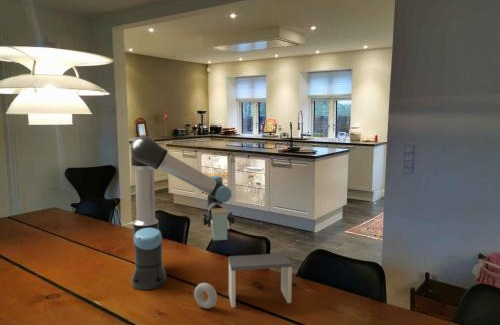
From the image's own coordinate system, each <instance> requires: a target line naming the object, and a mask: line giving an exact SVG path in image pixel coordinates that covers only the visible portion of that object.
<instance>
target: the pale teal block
mask: <svg viewBox="0 0 500 325" xmlns="http://www.w3.org/2000/svg"><path fill="white" fill-rule="evenodd" d="M211 212H212V221H213V230H211V231H212V233H211V234H212V235H211V236H212V237H211V238H212V241H226V240H228V229H227V214H228V210H227V208H226V207H223V208H215V209H211Z"/></svg>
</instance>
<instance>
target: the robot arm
mask: <svg viewBox="0 0 500 325" xmlns="http://www.w3.org/2000/svg"><path fill="white" fill-rule="evenodd" d="M130 156H131V157H130V158H131V159H130V160H131V161H130V162H131V167H132V168H133V169H134V173H135V174H134V175H135V176H134V177H135V179H134V180H135V211H136V212H135V214H136V216H135V217H136V219H134V221H133V222H132V224H133V225H132V227H133V228H132V229H133V230H132V231H133V233H132V238H133V245H134V261H135V262H134V265H135V266H134V267H135V268H134V270H133V274H132V277H131V286H132V287H133V288H135V289H137V290H143V291H145V290H146V291H147V290H154V289H158V288H160V287H163V286H164V285H165V284H166V283H167V281H168V280H167V278H168V277H167V273H166V270H165V267H164V265H163V247H162V246H163V242H162V241H163V236H162V232H161V230H159V228H160V227H159V226H160V224H159V220H158V219H157V217H156V198H155V197H156V193H155V192H156V190H155V170H156V171H157V170H162V171H163V172H165V173H167V174H168V175H171V176H172V177H175V178H176V179H178V180H180V181H182V182H184V183H185V184H187V185H189V186H192V188H195V189H196V190H199V191H201V192H202V193H204V194H206V195H207V210H208V214H207V213H202V220H203V225H204V226H206V225H207V227H208V228H210V229H211V231H212V230H213V221H212V212H211V209H215V208H224V204H223V203H227V202H228V201H229V200H230V199H231V198H232V190H231V188H230V187H228V186H226V184H224V183H223V177H222V176H219V175H214V176H213V175H212V176H208V175H207V174H205V173H203V172H201V171H200V170H199V169H196V168H194V167H192V166H191V165H189V164H187V163H186V162H184V161H182V160H180V159H179V158H176V157H175V156H174V155H171V154H170V153H169V150H167V149H166V148H164V147H162V146H161V145H160V144H158V143H157V141H156V140H154V139H153V138H151V136H146V135H143V136H142V135H141V136H137V137H135V138H134V139H133V141H132V142H131V143H130ZM232 224H233V225H235V217H234V215H233V212H227V230H230V226H232Z"/></svg>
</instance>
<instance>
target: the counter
mask: <svg viewBox="0 0 500 325" xmlns="http://www.w3.org/2000/svg"><path fill="white" fill-rule="evenodd" d="M279 268H280V269H281V270H280V291H281V293H282V296H283V298H284V299H285V301H286V303H287V304H291V303H292V287H293V285H292V284H293V283H292V282H293V281H292V280H293V278H292V277H293V275H292V274H293V262H292V260H290V258H289V257H288V255H287V254H286V253H285V252H283V253H282V252H281V253H280V252H279V253H263V254H246V255H230V256H229V255H228V298H229V303H230V305H231V306H230V307H231V308H236V271H248V270H249V271H250V270H252V271H253V270H265V269H267V270H268V269H279Z"/></svg>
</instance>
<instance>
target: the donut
mask: <svg viewBox="0 0 500 325" xmlns="http://www.w3.org/2000/svg"><path fill="white" fill-rule="evenodd" d="M204 293H206V295H207V299H206V298H205V296H204ZM193 295H194V299H195V302H196V303H197V305H198V306H199V307H200V308H203V309H205V310H206V309H208V310H209V309H211V308H213V307H214V306H215V305H216V303H217V300H218V294H217V291H216V289H215V288H214V287H213V285H211V284H210V283H207V282H201V283H198V285H196V286H195V288H194V291H193Z"/></svg>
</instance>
